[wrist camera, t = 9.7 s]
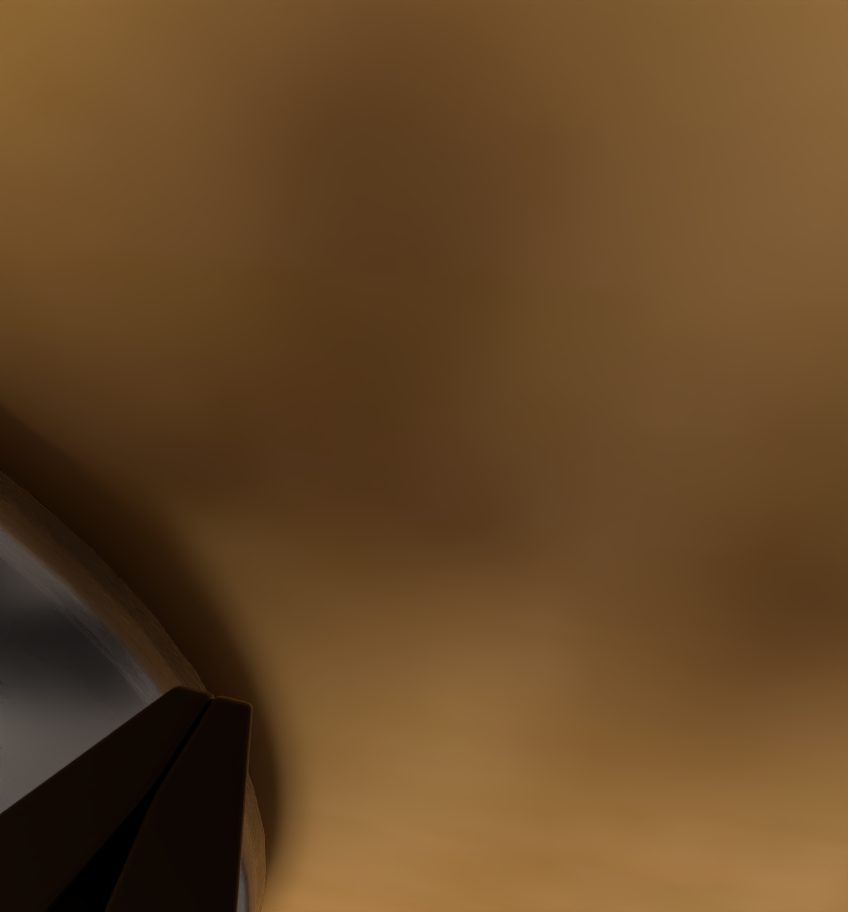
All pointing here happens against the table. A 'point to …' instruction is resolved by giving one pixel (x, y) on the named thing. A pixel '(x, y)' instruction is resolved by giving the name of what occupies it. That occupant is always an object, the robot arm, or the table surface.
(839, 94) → the table surface
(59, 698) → the turntable
